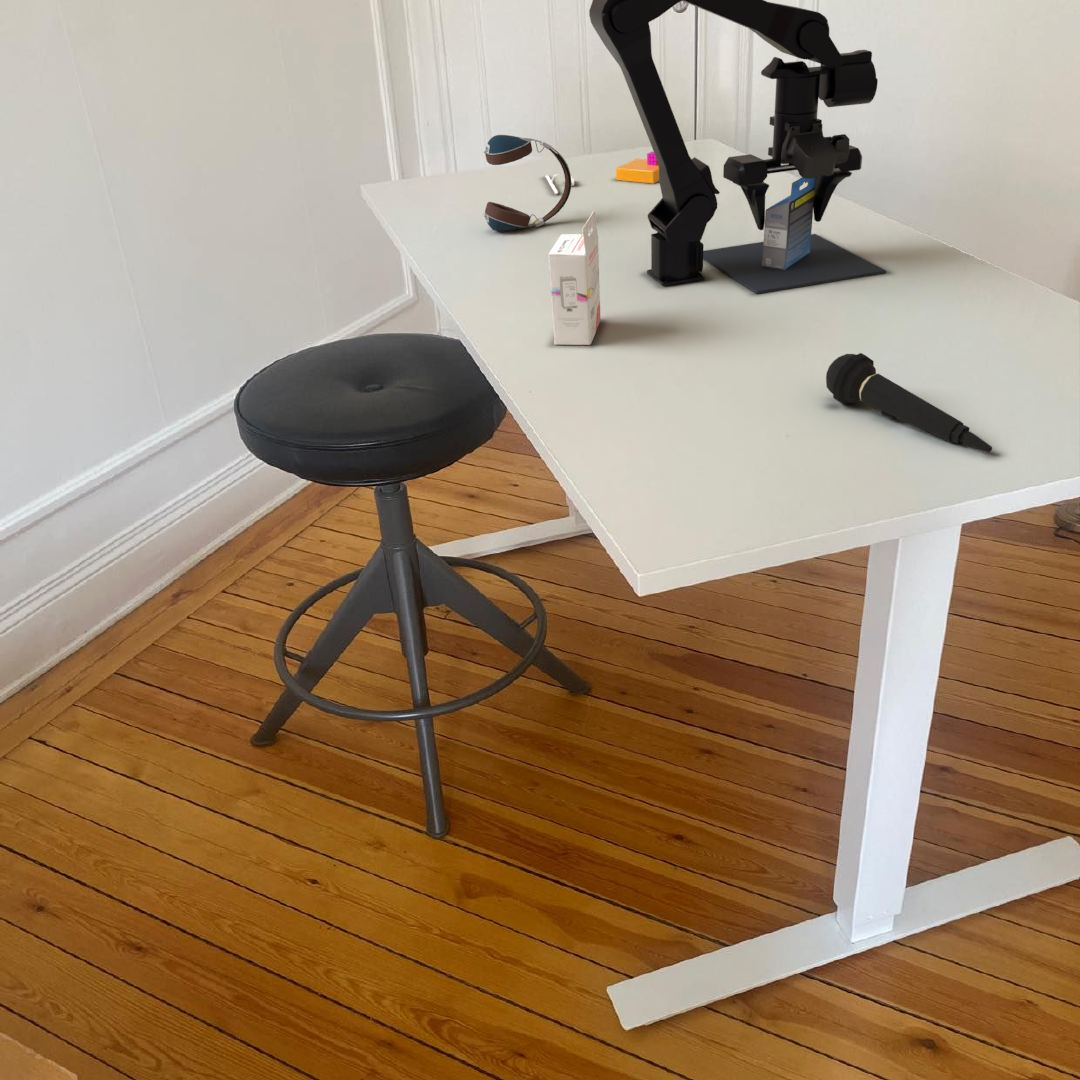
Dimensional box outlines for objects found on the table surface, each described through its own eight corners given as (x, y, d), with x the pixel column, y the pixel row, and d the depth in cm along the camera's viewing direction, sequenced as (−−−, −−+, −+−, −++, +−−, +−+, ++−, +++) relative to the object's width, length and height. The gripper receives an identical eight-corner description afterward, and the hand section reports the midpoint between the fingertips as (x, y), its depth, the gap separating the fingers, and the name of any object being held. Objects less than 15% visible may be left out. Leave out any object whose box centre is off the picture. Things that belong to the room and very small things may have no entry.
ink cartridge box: (564, 321, 147) (559, 209, 139) (601, 322, 146) (598, 209, 138) (551, 345, 140) (545, 228, 132) (590, 346, 139) (586, 228, 131)
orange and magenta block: (653, 183, 206) (653, 160, 204) (615, 180, 210) (615, 156, 208) (673, 173, 211) (673, 150, 209) (636, 170, 215) (636, 147, 213)
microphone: (991, 474, 111) (837, 393, 124) (1016, 422, 109) (857, 344, 121) (963, 477, 108) (807, 393, 120) (989, 423, 105) (827, 343, 118)
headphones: (446, 237, 179) (574, 232, 185) (445, 139, 172) (579, 137, 178) (437, 228, 184) (562, 223, 191) (436, 132, 177) (566, 130, 183)
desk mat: (756, 294, 152) (756, 291, 151) (696, 254, 168) (696, 251, 168) (885, 273, 156) (886, 270, 156) (814, 236, 173) (815, 233, 172)
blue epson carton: (786, 250, 166) (793, 165, 159) (810, 253, 164) (818, 168, 157) (760, 267, 160) (766, 179, 153) (785, 271, 158) (792, 182, 151)
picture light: (544, 177, 214) (544, 166, 213) (567, 175, 215) (566, 164, 214) (555, 195, 203) (554, 183, 201) (578, 193, 203) (578, 181, 202)
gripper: (760, 128, 142) (755, 249, 150) (889, 112, 147) (877, 230, 155) (723, 114, 152) (720, 228, 160) (845, 99, 156) (836, 211, 164)
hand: (789, 225), depth 159 cm, fingers closed on blue epson carton, 9 cm apart
